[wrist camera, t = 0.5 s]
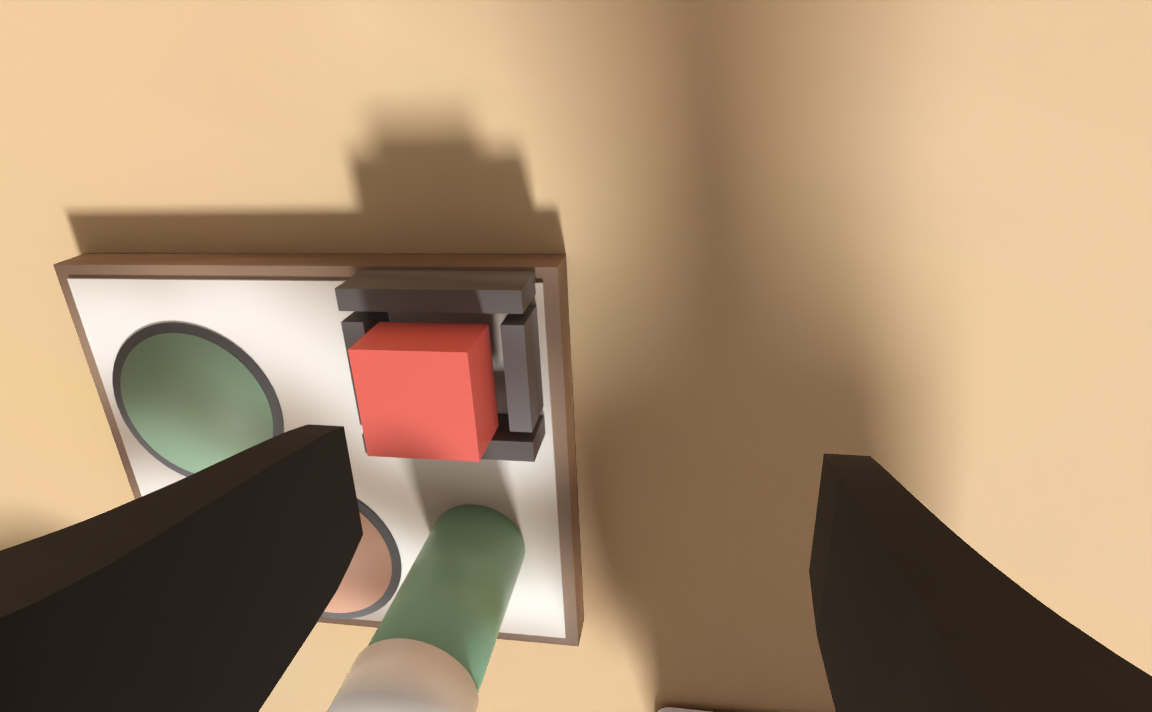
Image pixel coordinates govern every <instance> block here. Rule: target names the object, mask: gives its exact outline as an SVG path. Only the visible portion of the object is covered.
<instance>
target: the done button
mask: <svg viewBox="0 0 1152 712" xmlns="http://www.w3.org/2000/svg"><path fill="white" fill-rule="evenodd" d="M348 353H349V358H350V364H351V369H352V374H353V380H354V385H355V390H356V396H357V401H358V407H359V412H360V417H361V423H362V428H363V433H364V439H365V444H366V449H367V455H368V456H376V457H395V458H415V459H434V460H454V461H473V462H480V460H481V458H482V456H483V455H484V453H485V451H486V449H487V447H488V445H489V443H490V441H491V439H492V437H493V435H494V434H495V432H496V430H497V428H498V426H499V423H498V413H497V403H496V393H495V383H494V373H493V362H492V352H491V342H490V332H489V324H475V323H421V322H378V323H377V324H376V325H375V326H374V327H373V328H372V329H370V330H369V331H368V332H367V333H366V334H365V335H364V336H363V337H361V338H360V339H359V340H358V341H357V342H356V343H355V344H353V345H352V346H351V347H350V348H349V349H348Z"/></svg>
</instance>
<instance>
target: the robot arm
mask: <svg viewBox="0 0 1152 712" xmlns="http://www.w3.org/2000/svg"><path fill="white" fill-rule="evenodd" d="M362 536H363V530H362V524H361V519H360V513H359V508H358V502H357V496H356V491H355V485H354V480H353V474H352V469H351V463H350V458H349V452H348V446H347V441H346V435H345V430H344V426H329V425H311V424H307V425H304V426H301V427H298V428H295V429H293V430H290V431H287V432H285V433H282V434H280V435H277V436H275V437H273V438H270V439H268V440H266V441H264V442H261V443H259V444H257V445H255V446H253V447H250V448H248V449H246V450H244V451H242V452H239V453H237V454H235V455H233V456H231V457H229V458H227V459H224V460H222V461H220V462H218V463H216V464H214V465H211V466H209V467H207V468H205V469H203V470H201V471H199V472H196V473H194V474H192V475H190V476H188V477H186V478H183V479H181V480H179V481H177V482H175V483H172V484H170V485H168V486H165V487H163V488H161V489H158V490H156V491H154V492H151V493H149V494H147V495H145V496H142V497H140V498H138V499H135V500H133V501H131V502H128V503H126V504H124V505H121V506H119V507H117V508H114V509H112V510H110V511H107V512H105V513H103V514H100V515H98V516H95V517H93V518H90V519H88V520H85V521H82V522H80V523H77V524H75V525H72V526H69V527H67V528H64V529H61V530H59V531H56V532H53V533H50V534H47V535H45V536H42V537H39V538H36V539H33V540H31V541H28V542H25V543H22V544H19V545H16V546H13V547H10V548H7V549H4V550H1V551H0V712H259V710H260V709H261V707H262V705H263V704H264V702H265V701H266V699H267V698H268V696H269V695H270V693H271V692H272V690H273V689H274V687H275V686H276V684H277V683H278V681H279V680H280V678H281V677H282V675H283V673H284V672H285V670H286V669H287V667H288V666H289V664H290V663H291V661H292V660H293V658H294V657H295V655H296V654H297V652H298V651H299V649H300V648H301V646H302V645H303V643H304V642H305V640H306V638H307V637H308V635H309V634H310V632H311V631H312V629H313V628H314V626H315V625H316V623H317V621H318V620H319V618H320V617H321V615H322V614H323V612H324V611H325V609H326V607H327V606H328V604H329V603H330V601H331V599H332V598H333V596H334V595H335V593H336V591H337V590H338V588H339V586H340V584H341V582H342V580H343V578H344V575H345V573H346V571H347V569H348V567H349V565H350V563H351V561H352V559H353V556H354V554H355V552H356V550H357V547H358V545H359V543H360V540H361V538H362ZM809 573H810V581H811V590H812V599H813V608H814V615H815V623H816V631H817V637H818V641H819V646H820V650H821V654H822V658H823V662H824V666H825V670H826V674H827V678H828V682H829V686H830V690H831V694H832V698H833V702H834V706H835V710H836V712H1152V676H1150V675H1149V674H1147V673H1145V672H1144V671H1142V670H1141V669H1139V668H1137V667H1136V666H1134V665H1133V664H1131V663H1129V662H1128V661H1126V660H1125V659H1123V658H1121V657H1120V656H1118V655H1117V654H1115V653H1114V652H1112V651H1111V650H1109V649H1108V648H1106V647H1105V646H1103V645H1102V644H1101V643H1099V642H1098V641H1096V640H1095V639H1093V638H1092V637H1090V636H1089V635H1087V634H1086V633H1084V632H1083V631H1081V630H1080V629H1078V628H1077V627H1075V626H1074V625H1072V624H1071V623H1069V622H1068V621H1066V620H1065V619H1063V618H1062V617H1061V616H1059V615H1058V614H1056V613H1055V612H1054V611H1052V610H1051V609H1050V608H1048V607H1047V606H1045V605H1044V604H1043V603H1041V602H1040V601H1038V600H1037V599H1036V598H1034V597H1033V596H1032V595H1030V594H1029V593H1028V592H1027V591H1025V590H1024V589H1023V588H1022V587H1020V586H1019V585H1018V584H1016V583H1015V582H1014V581H1013V580H1011V579H1010V578H1009V577H1007V576H1006V575H1005V574H1004V573H1002V572H1001V571H1000V570H998V569H997V568H996V567H995V566H993V565H992V564H991V563H990V562H988V561H987V560H986V559H985V558H984V557H982V556H981V555H980V554H979V553H978V552H976V551H975V550H974V549H973V548H971V547H970V546H969V545H968V544H967V543H966V542H964V541H963V540H962V539H961V538H960V537H959V536H957V535H956V534H955V533H954V532H953V531H952V530H951V529H949V528H948V527H947V526H946V525H945V524H944V523H943V522H941V521H940V520H939V519H938V518H937V517H936V516H935V515H934V514H933V513H931V512H930V511H929V510H928V509H927V508H926V507H925V506H924V505H923V504H922V503H921V502H919V501H918V500H917V499H916V498H915V497H914V496H913V495H912V494H911V493H910V492H909V491H908V490H906V489H905V488H904V487H903V486H902V485H901V484H900V483H899V482H898V481H897V480H896V479H895V478H894V477H893V476H892V475H890V474H889V473H888V472H887V471H886V470H885V469H884V468H883V467H882V466H881V465H880V464H878V463H877V462H876V461H875V460H874V459H873V458H871V457H870V456H856V455H838V454H824V458H823V466H822V474H821V482H820V490H819V498H818V506H817V514H816V522H815V530H814V538H813V546H812V554H811V561H810V569H809ZM658 712H711V711H702V710H692V709H683V708H673V707H665V708H662V709H660V710H659V711H658Z"/></svg>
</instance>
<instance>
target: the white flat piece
mask: <svg viewBox="0 0 1152 712" xmlns="http://www.w3.org/2000/svg"><path fill="white" fill-rule="evenodd" d="M54 268H55V271H56V274H57V277H58V279H59V282H60V285H61V288H62V291H63V294H64V297H65V299H66V302H67V305H68V308H69V311H70V314H71V317H72V320H73V322H74V325H75V328H76V331H77V334H78V337H79V340H80V343H81V345H82V348H83V351H84V354H85V357H86V360H87V363H88V365H89V368H90V371H91V374H92V377H93V380H94V383H95V386H96V388H97V391H98V394H99V397H100V400H101V403H102V406H103V409H104V411H105V414H106V417H107V420H108V423H109V426H110V429H111V431H112V434H113V437H114V440H115V443H116V446H117V449H118V452H119V454H120V457H121V460H122V463H123V466H124V469H125V472H126V474H127V477H128V480H129V483H130V486H131V489H132V492H133V495H134V497H135V499H138V498H140V497H142V496H145V495H147V494H149V493H151V492H154V491H156V490H158V489H161V488H163V487H165V486H168V485H170V484H172V483H175V482H177V481H179V480H181V479H183V478H186V477H188V476H190V475H192V474H194V473H196V472H199V471H201V470H203V469H205V468H207V467H209V466H211V465H214V464H216V463H218V462H220V461H222V460H224V459H227V458H229V457H231V456H233V455H235V454H237V453H239V452H242V451H244V450H246V449H248V448H250V447H253V446H255V445H257V444H259V443H261V442H264V441H266V440H268V439H270V438H273V437H275V436H277V435H280V434H282V433H285V432H287V431H290V430H293V429H295V428H298V427H301V426H304V425H307V424H311V425H329V426H344V430H345V435H346V441H347V446H348V452H349V458H350V463H351V469H352V474H353V480H354V485H355V491H356V496H357V502H358V508H359V513H360V519H361V524H362V530H363V536H362V538H361V540H360V543H359V545H358V547H357V550H356V552H355V554H354V556H353V559H352V561H351V563H350V565H349V567H348V569H347V571H346V573H345V575H344V578H343V580H342V582H341V584H340V586H339V588H338V590H337V591H336V593H335V595H334V596H333V598H332V599H331V601H330V603H329V604H328V606H327V607H326V609H325V611H324V612H323V614H322V615H321V617H320V618H319V620H318V621H317V622H323V623H334V624H344V625H355V626H366V627H377V628H378V627H379V625H380V623H381V621H382V620H383V618H384V616H385V614H386V612H387V610H388V609H389V607H390V605H391V603H392V601H393V600H394V598H395V596H396V594H397V592H398V590H399V589H400V587H401V585H402V583H403V581H404V580H405V578H406V576H407V574H408V572H409V570H410V569H411V567H412V565H413V563H414V561H415V560H416V558H417V556H418V554H419V552H420V550H421V549H422V547H423V545H424V543H425V541H426V539H427V538H428V536H429V534H430V532H431V530H432V529H433V527H434V525H435V523H436V521H437V520H438V518H439V517H440V516H441V515H442V514H443V513H444V512H446V511H447V510H449V509H451V508H453V507H456V506H460V505H467V504H474V505H481V506H486V507H489V508H492V509H494V510H496V511H498V512H500V513H502V514H503V515H505V516H506V517H507V518H509V519H510V520H511V521H512V522H513V523H514V524H515V526H516V527H517V528H518V530H519V531H520V533H521V535H522V537H523V540H524V544H525V557H524V560H523V563H522V566H521V569H520V572H519V575H518V578H517V581H516V583H515V586H514V589H513V592H512V595H511V598H510V601H509V604H508V607H507V610H506V613H505V616H504V619H503V621H502V624H501V627H500V630H499V633H498V636H497V639H506V640H517V641H528V642H538V643H549V644H560V645H571V646H579V642H580V637H581V632H582V627H583V622H584V610H583V590H582V570H581V550H580V530H579V510H578V490H577V470H576V450H575V430H574V410H573V390H572V370H571V350H570V330H569V310H568V290H567V270H566V254H130V253H85V254H82V255H79V256H77V257H74V258H71V259H68V260H65V261H62V262H59V263H57V264H54ZM378 322H421V323H475V324H489V332H490V342H491V352H492V362H493V373H494V383H495V393H496V403H497V413H498V423H499V426H498V428H497V430H496V432H495V434H494V435H493V437H492V439H491V441H490V443H489V445H488V447H487V449H486V451H485V453H484V455H483V456H482V458H481V460H480V462H473V461H454V460H434V459H415V458H395V457H376V456H368V455H367V449H366V444H365V439H364V433H363V428H362V423H361V417H360V412H359V407H358V401H357V396H356V390H355V385H354V380H353V374H352V369H351V364H350V358H349V353H348V349H349V348H350V347H351V346H352V345H353V344H355V343H356V342H357V341H358V340H359V339H360V338H361V337H363V336H364V335H365V334H366V333H367V332H368V331H369V330H370V329H372V328H373V327H374V326H375V325H376V324H377V323H378Z"/></svg>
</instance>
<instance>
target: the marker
mask: <svg viewBox="0 0 1152 712" xmlns="http://www.w3.org/2000/svg"><path fill="white" fill-rule="evenodd" d="M524 557H525V544H524V540H523V537H522V535H521V533H520V531H519V530H518V528H517V527H516V526H515V524H514V523H513V522H512V521H511V520H510V519H509V518H507V517H506V516H505V515H503V514H502V513H500V512H498V511H496V510H494V509H492V508H489V507H486V506H481V505H474V504H467V505H460V506H456V507H453V508H451V509H449V510H447V511H446V512H444V513H443V514H442V515H441V516H440V517H439V518H438V520H437V521H436V523H435V525H434V527H433V529H432V530H431V532H430V534H429V536H428V538H427V539H426V541H425V543H424V545H423V547H422V549H421V550H420V552H419V554H418V556H417V558H416V560H415V561H414V563H413V565H412V567H411V569H410V570H409V572H408V574H407V576H406V578H405V580H404V581H403V583H402V585H401V587H400V589H399V590H398V592H397V594H396V596H395V598H394V600H393V601H392V603H391V605H390V607H389V609H388V610H387V612H386V614H385V616H384V618H383V620H382V621H381V623H380V625H379V627H378V629H377V631H376V632H375V634H374V636H373V638H372V640H371V641H370V643H369V645H368V647H366V648H365V649H364V650H363V651H362V652H361V653H360V654H359V655H358V657H357V658H356V660H355V662H354V664H353V666H352V667H351V669H350V671H349V673H348V675H347V676H346V678H345V680H344V682H343V684H342V685H341V687H340V689H339V691H338V692H337V694H336V696H335V698H334V700H333V701H332V703H331V705H330V707H329V709H328V710H327V712H476V710H477V707H478V692H479V689H480V686H481V683H482V680H483V677H484V674H485V671H486V668H487V665H488V662H489V659H490V657H491V654H492V651H493V648H494V645H495V642H496V639H497V636H498V633H499V630H500V627H501V624H502V621H503V619H504V616H505V613H506V610H507V607H508V604H509V601H510V598H511V595H512V592H513V589H514V586H515V583H516V581H517V578H518V575H519V572H520V569H521V566H522V563H523V560H524Z"/></svg>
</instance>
